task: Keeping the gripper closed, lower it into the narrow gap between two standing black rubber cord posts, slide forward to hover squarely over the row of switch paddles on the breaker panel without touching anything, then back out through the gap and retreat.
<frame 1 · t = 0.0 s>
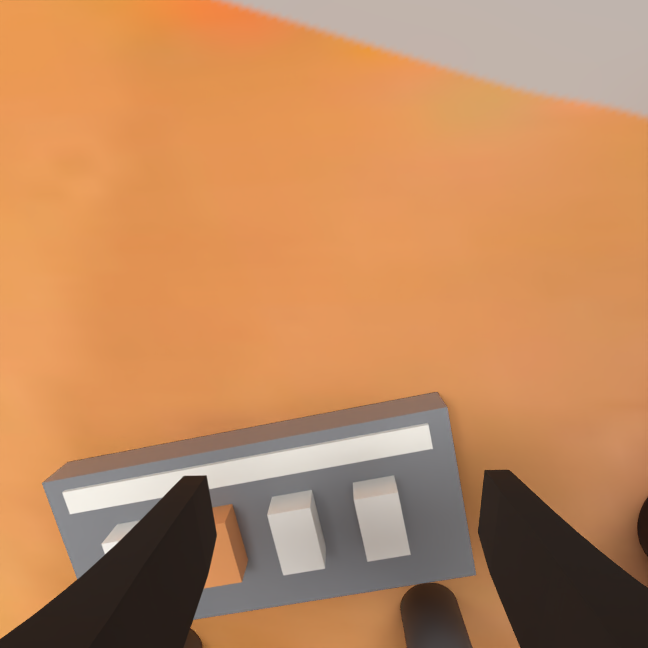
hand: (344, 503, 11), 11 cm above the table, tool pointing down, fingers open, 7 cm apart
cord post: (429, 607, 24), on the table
breaker panel: (266, 504, 23), on the table
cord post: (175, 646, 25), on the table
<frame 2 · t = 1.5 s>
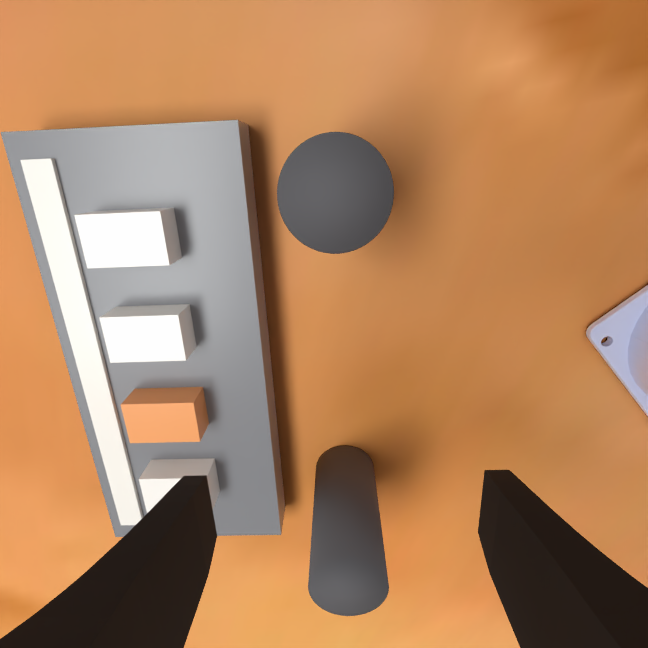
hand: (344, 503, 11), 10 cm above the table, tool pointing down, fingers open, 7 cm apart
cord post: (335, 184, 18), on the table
breaker panel: (180, 350, 21), on the table
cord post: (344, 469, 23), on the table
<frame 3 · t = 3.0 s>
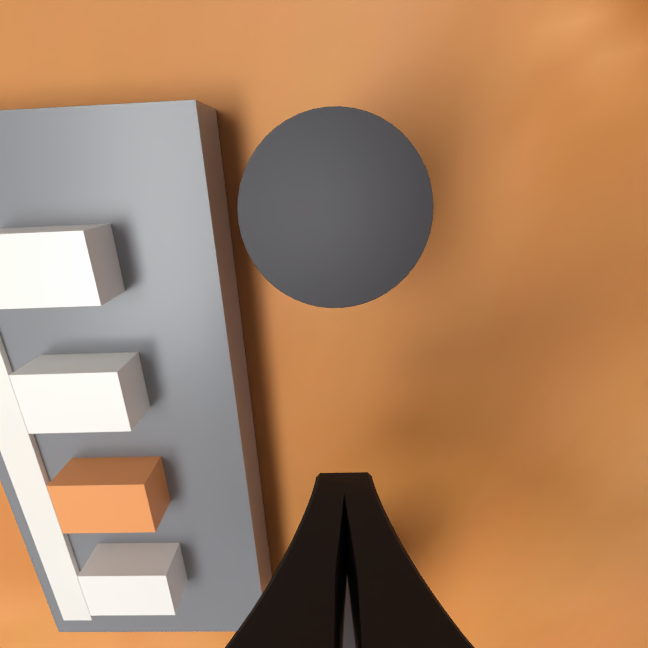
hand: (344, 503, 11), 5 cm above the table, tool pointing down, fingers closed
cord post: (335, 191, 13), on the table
breaker panel: (135, 402, 16), on the table
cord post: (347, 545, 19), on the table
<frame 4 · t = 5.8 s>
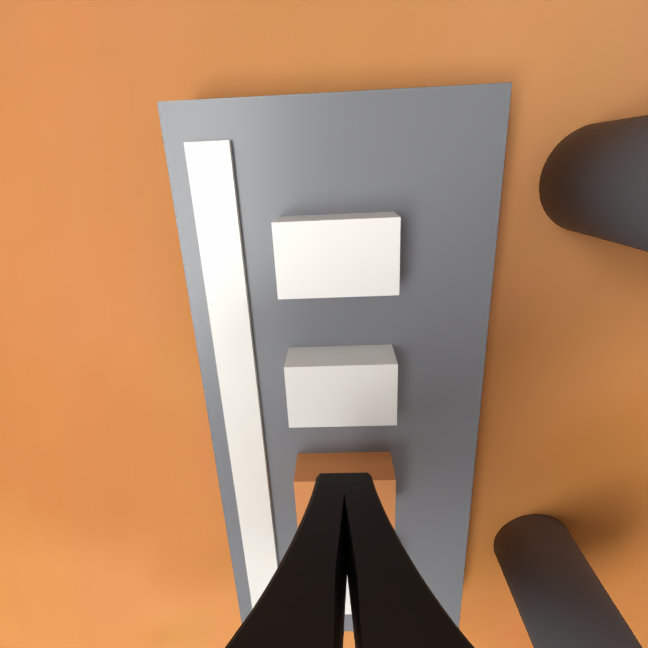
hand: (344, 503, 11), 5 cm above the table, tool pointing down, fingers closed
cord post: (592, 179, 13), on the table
breaker panel: (342, 397, 16), on the table
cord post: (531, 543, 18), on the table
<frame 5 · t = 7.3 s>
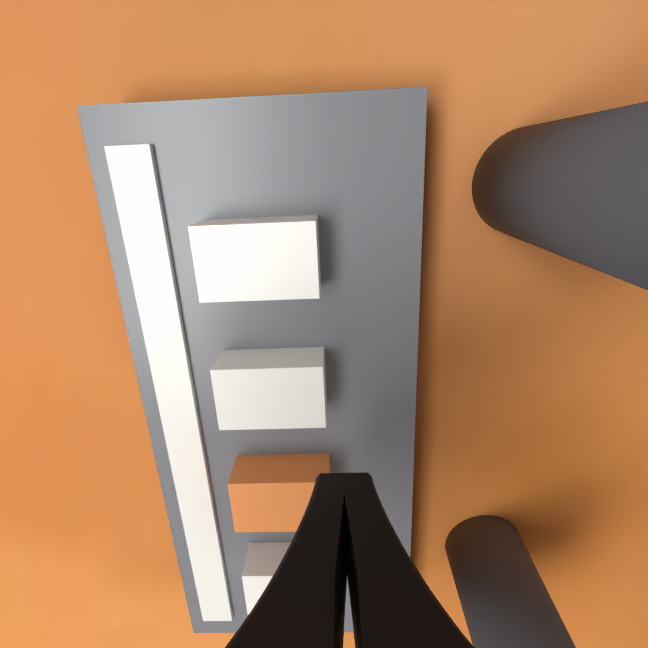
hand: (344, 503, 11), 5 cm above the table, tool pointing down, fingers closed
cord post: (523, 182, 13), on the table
breaker panel: (286, 399, 16), on the table
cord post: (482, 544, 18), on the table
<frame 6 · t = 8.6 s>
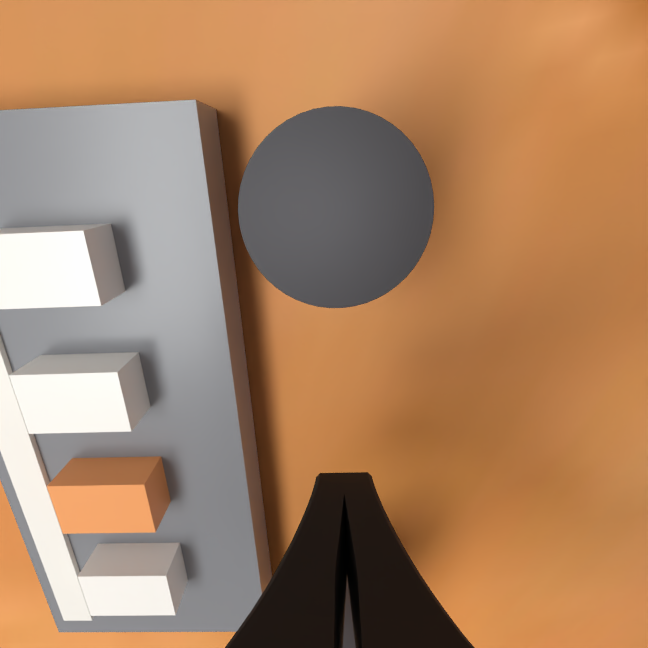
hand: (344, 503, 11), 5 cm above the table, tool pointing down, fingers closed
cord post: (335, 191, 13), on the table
breaker panel: (135, 402, 16), on the table
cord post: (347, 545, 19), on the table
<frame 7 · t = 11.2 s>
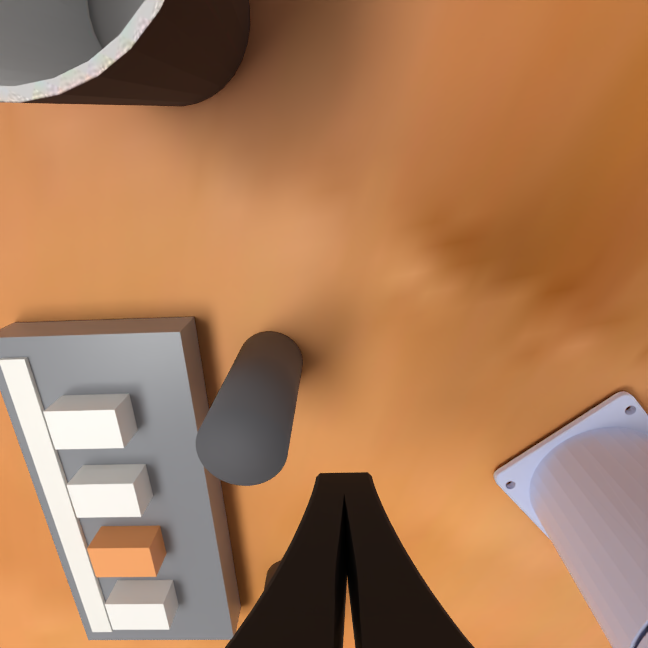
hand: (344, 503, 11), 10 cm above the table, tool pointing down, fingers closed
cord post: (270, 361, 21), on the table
breaker panel: (142, 484, 24), on the table
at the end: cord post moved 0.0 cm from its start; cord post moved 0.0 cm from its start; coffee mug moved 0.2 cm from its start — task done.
